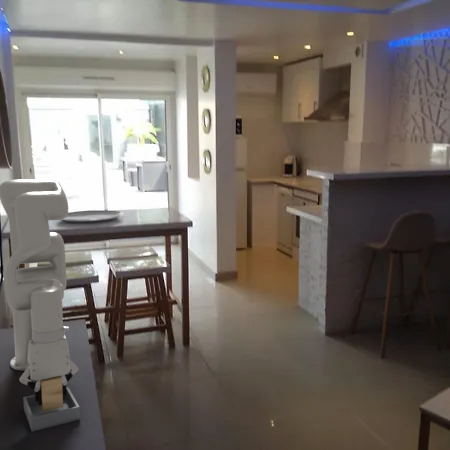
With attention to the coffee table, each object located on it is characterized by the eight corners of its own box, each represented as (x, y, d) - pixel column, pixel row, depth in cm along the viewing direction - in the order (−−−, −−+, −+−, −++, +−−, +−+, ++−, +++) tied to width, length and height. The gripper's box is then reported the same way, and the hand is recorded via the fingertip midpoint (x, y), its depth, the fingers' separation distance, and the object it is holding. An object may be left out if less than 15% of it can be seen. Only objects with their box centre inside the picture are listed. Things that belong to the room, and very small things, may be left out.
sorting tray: (23, 409, 134) (23, 397, 134) (68, 398, 140) (68, 387, 139) (31, 431, 124) (31, 418, 123) (80, 419, 130) (79, 406, 129)
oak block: (39, 403, 132) (38, 374, 131) (58, 398, 135) (57, 370, 134) (43, 411, 128) (41, 382, 127) (63, 407, 130) (61, 378, 129)
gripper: (77, 324, 136) (79, 387, 139) (10, 335, 127) (14, 402, 130) (85, 333, 130) (87, 399, 132) (14, 345, 121) (18, 415, 124)
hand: (50, 400), depth 131 cm, fingers closed on oak block, 5 cm apart
